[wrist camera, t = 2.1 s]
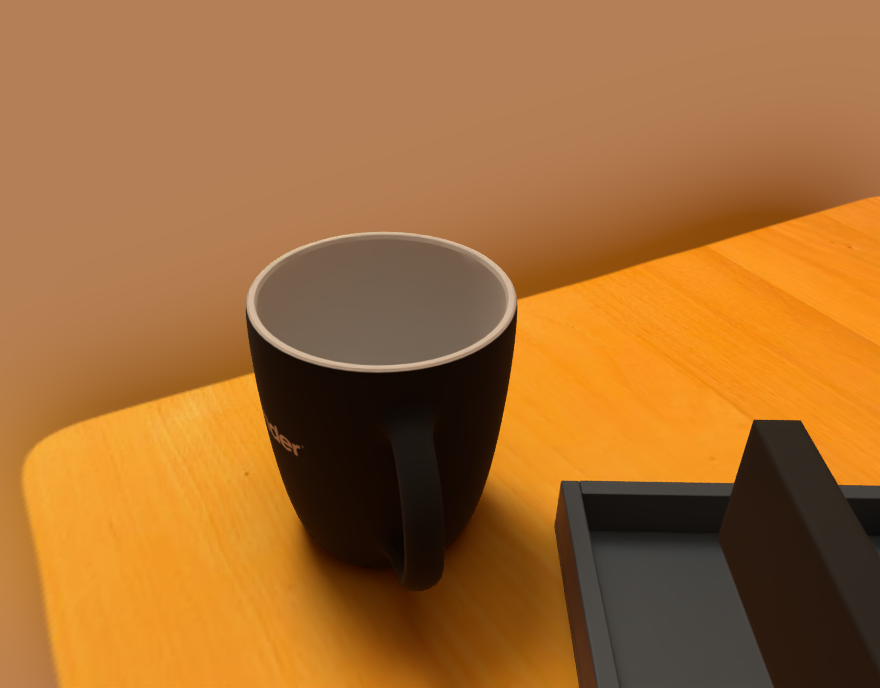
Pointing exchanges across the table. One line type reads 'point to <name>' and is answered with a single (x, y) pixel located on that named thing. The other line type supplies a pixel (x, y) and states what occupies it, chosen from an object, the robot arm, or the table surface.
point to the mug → (383, 390)
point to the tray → (661, 584)
